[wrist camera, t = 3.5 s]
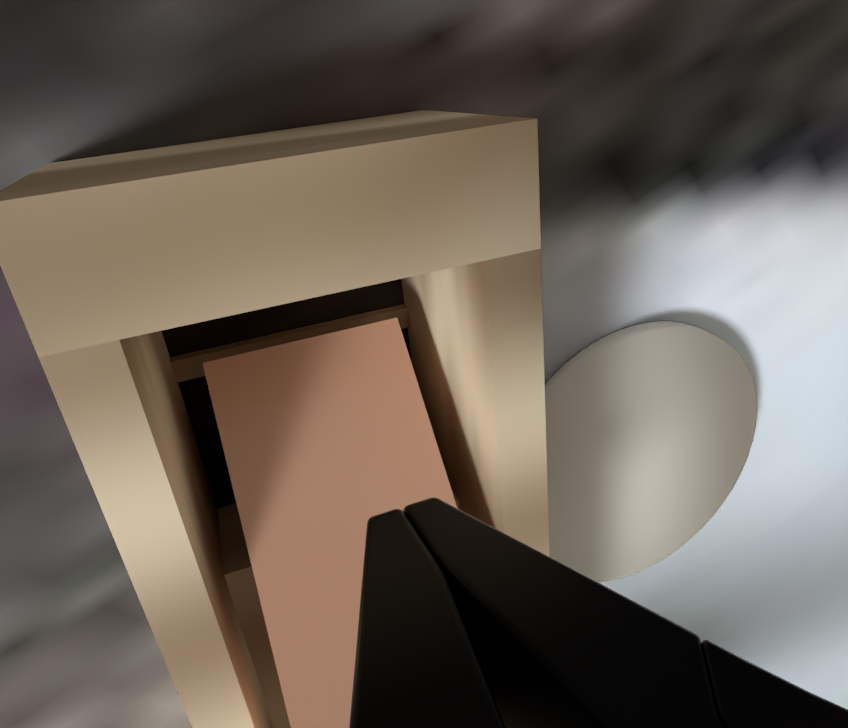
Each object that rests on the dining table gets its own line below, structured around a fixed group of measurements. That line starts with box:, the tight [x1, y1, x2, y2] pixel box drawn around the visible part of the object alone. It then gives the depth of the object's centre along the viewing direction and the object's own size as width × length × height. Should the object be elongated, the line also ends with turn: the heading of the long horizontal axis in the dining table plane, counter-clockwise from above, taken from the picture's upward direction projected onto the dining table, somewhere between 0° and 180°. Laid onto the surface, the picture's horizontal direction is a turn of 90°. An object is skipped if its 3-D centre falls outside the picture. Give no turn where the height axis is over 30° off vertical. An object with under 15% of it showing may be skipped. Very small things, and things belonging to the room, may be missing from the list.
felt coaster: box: [545, 321, 757, 582], centre depth 20 cm, size 9×9×1 cm
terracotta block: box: [203, 318, 457, 728], centre depth 13 cm, size 9×4×2 cm
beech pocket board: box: [0, 110, 549, 728], centre depth 14 cm, size 16×8×5 cm, turn 6°
